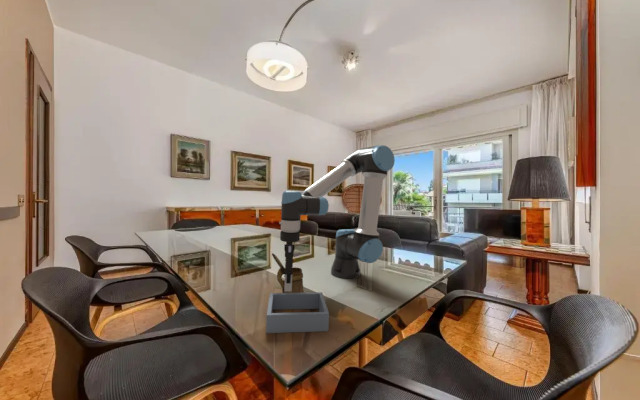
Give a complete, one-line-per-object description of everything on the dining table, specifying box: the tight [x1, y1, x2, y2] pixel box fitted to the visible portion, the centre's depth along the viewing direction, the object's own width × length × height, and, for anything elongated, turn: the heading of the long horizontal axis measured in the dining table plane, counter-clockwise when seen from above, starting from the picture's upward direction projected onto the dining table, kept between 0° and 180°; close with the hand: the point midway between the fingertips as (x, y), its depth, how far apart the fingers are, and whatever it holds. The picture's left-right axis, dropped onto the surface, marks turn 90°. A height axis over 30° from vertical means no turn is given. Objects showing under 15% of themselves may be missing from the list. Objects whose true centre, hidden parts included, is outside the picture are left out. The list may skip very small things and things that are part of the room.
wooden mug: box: [271, 253, 305, 293], centre depth 98 cm, size 9×14×18 cm, turn 103°
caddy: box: [265, 291, 330, 334], centre depth 83 cm, size 19×15×6 cm
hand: (287, 283), depth 98 cm, fingers open, 13 cm apart
